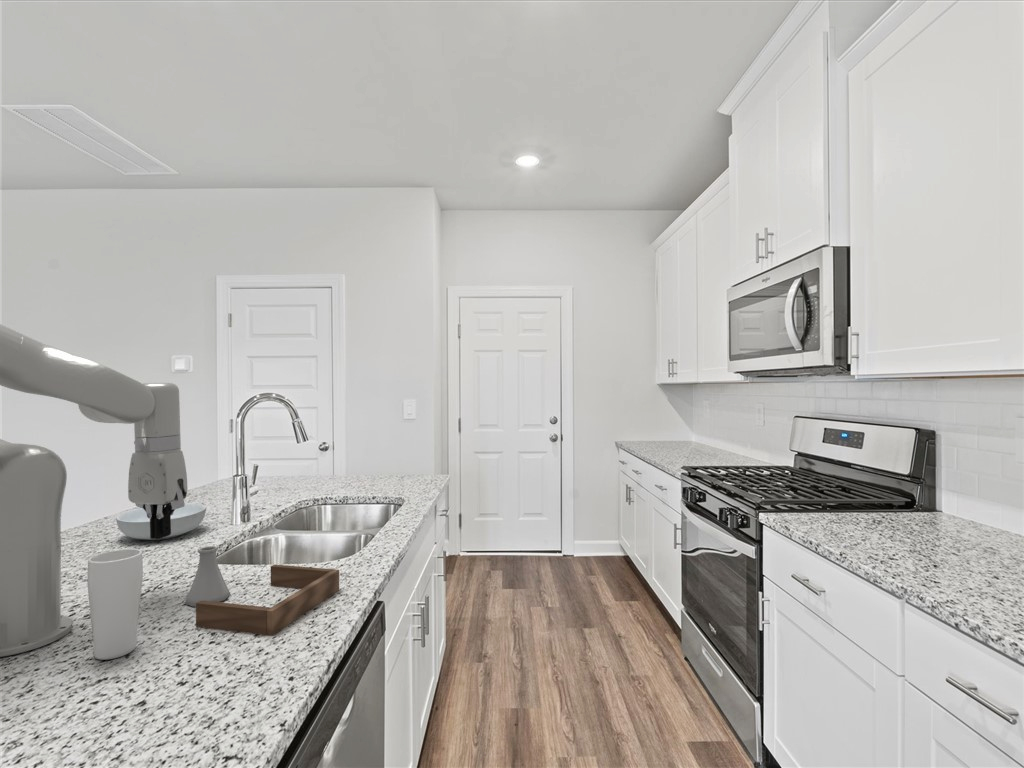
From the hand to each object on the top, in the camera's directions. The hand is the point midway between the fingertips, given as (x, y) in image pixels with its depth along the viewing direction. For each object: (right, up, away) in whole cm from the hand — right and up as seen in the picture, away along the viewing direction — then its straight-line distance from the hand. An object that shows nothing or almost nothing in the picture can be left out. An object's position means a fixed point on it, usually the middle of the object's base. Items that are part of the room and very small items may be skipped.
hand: (160, 536), depth 103 cm
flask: (+11, -12, -3) cm, 17 cm away
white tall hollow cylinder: (+9, -11, -23) cm, 27 cm away
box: (+25, -11, -7) cm, 28 cm away
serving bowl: (-27, -12, +41) cm, 51 cm away
